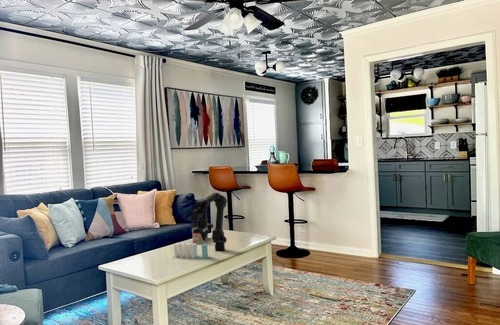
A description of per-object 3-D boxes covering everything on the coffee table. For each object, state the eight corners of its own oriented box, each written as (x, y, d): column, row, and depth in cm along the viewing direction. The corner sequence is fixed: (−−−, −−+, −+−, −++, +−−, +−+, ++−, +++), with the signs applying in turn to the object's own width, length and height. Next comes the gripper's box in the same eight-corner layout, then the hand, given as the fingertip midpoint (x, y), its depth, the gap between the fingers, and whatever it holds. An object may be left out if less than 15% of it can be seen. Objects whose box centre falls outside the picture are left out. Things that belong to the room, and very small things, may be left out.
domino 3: (191, 255, 269) (190, 243, 269) (188, 257, 264) (187, 244, 264) (189, 255, 270) (188, 243, 269) (186, 257, 265) (185, 244, 265)
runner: (211, 256, 266) (211, 255, 266) (204, 260, 257) (204, 259, 257) (179, 254, 276) (179, 254, 276) (171, 258, 267) (171, 258, 267)
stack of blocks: (201, 238, 328) (200, 223, 328) (208, 237, 327) (207, 223, 327) (192, 244, 307) (191, 228, 307) (200, 244, 306) (199, 228, 306)
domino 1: (180, 255, 272) (179, 242, 272) (176, 257, 268) (175, 244, 268) (178, 255, 273) (177, 242, 273) (174, 257, 268) (174, 244, 268)
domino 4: (197, 256, 267) (196, 243, 267) (193, 258, 263) (192, 245, 263) (195, 255, 268) (194, 243, 268) (191, 257, 263) (190, 244, 263)
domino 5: (208, 256, 264) (207, 243, 264) (204, 258, 260) (203, 245, 260) (205, 256, 265) (205, 243, 265) (202, 258, 260) (201, 245, 260)
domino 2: (186, 255, 271) (185, 242, 271) (182, 257, 266) (181, 244, 266) (184, 255, 271) (183, 242, 271) (180, 257, 267) (179, 244, 267)
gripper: (199, 215, 273) (200, 237, 274) (185, 220, 256) (186, 243, 256) (213, 215, 269) (214, 237, 270) (200, 220, 252) (201, 244, 252)
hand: (204, 240), depth 262 cm, fingers closed
